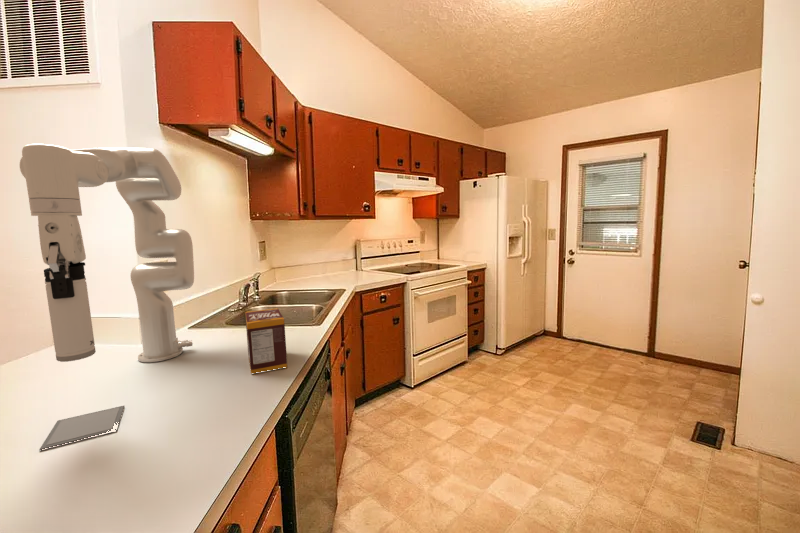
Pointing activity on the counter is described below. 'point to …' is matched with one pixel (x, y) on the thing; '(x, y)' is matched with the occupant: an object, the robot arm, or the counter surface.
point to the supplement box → (266, 340)
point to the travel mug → (71, 318)
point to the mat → (82, 426)
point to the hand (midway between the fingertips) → (68, 294)
